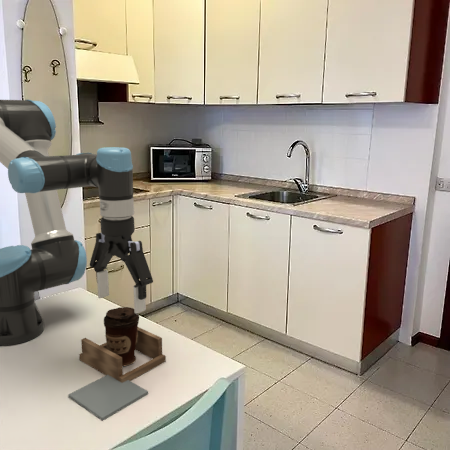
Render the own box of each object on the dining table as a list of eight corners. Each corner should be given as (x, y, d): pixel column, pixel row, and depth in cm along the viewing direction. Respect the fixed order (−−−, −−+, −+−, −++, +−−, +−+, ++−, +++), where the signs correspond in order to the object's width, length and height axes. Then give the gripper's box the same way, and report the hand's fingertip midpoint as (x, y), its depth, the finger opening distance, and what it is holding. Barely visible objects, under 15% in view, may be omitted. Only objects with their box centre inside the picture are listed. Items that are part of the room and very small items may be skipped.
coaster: (68, 396, 101) (68, 394, 100) (113, 373, 110) (113, 371, 109) (102, 420, 93) (102, 417, 93) (148, 393, 102) (148, 391, 102)
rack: (79, 360, 115) (78, 337, 114) (123, 340, 125) (122, 319, 124) (122, 385, 105) (121, 361, 104) (165, 361, 115) (165, 339, 114)
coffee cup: (131, 372, 110) (130, 321, 107) (98, 368, 112) (96, 318, 109) (145, 354, 118) (143, 306, 115) (114, 350, 120) (112, 303, 117)
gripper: (71, 211, 111) (77, 295, 116) (140, 228, 96) (144, 323, 101) (97, 206, 117) (102, 286, 122) (167, 221, 101) (169, 312, 106)
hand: (121, 303), depth 111 cm, fingers open, 13 cm apart
